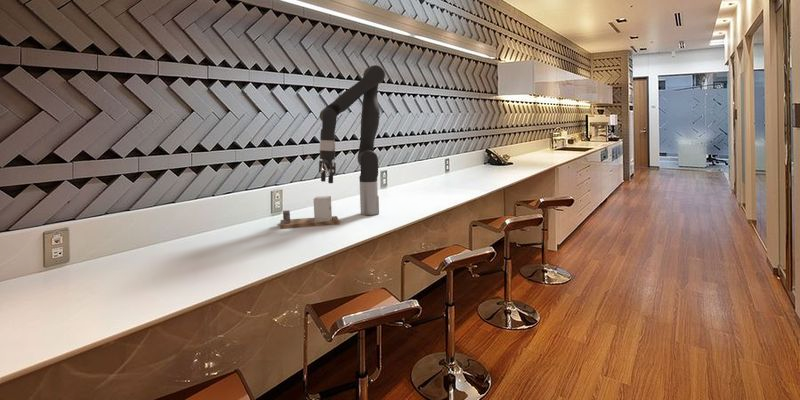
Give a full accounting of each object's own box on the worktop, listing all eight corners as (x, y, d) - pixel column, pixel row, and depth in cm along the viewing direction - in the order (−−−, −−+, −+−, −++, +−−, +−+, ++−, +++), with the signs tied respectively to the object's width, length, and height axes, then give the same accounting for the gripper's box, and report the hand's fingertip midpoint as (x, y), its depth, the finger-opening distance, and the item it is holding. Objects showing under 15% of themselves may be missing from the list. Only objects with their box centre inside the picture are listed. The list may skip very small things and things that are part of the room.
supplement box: (329, 224, 208) (328, 198, 206) (314, 224, 209) (312, 198, 206) (332, 221, 216) (331, 195, 213) (317, 221, 216) (316, 196, 214)
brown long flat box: (336, 218, 219) (336, 206, 218) (339, 224, 208) (338, 210, 207) (280, 223, 213) (279, 209, 212) (280, 228, 202) (279, 214, 200)
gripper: (340, 150, 214) (340, 183, 216) (328, 149, 225) (327, 180, 227) (326, 150, 209) (326, 184, 212) (314, 148, 221) (314, 181, 223)
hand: (326, 182), depth 220 cm, fingers open, 8 cm apart
